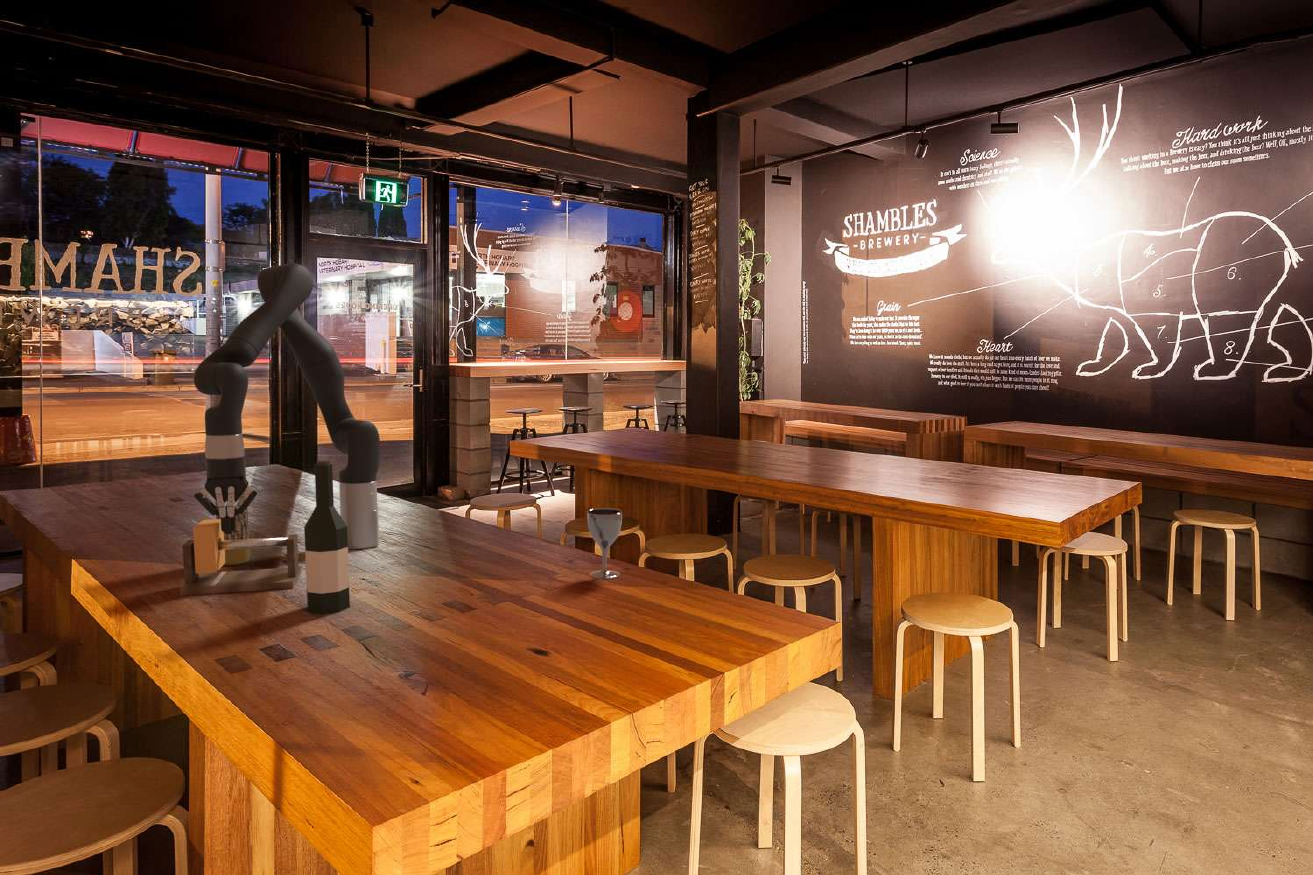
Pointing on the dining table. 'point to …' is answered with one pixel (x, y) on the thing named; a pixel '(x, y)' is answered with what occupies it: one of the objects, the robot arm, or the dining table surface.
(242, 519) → the bark log section
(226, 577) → the pipe stand
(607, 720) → the dining table surface
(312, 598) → the wine bottle
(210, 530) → the collar
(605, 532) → the wine glass
